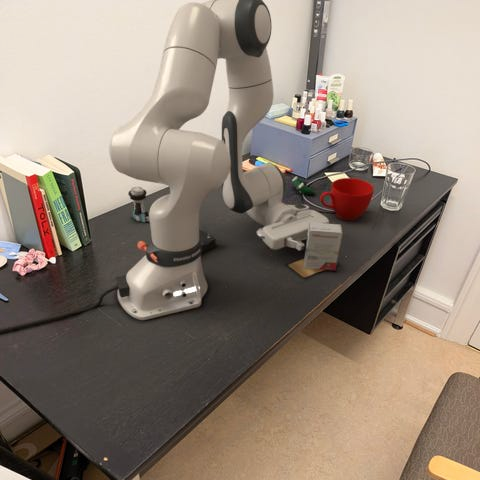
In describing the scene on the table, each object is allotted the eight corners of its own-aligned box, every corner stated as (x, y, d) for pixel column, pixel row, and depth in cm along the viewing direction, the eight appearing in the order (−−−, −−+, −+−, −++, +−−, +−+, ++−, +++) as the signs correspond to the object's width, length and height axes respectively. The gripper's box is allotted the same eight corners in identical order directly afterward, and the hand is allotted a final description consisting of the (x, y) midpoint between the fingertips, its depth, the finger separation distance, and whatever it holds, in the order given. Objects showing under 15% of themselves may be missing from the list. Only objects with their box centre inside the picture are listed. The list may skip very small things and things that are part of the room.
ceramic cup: (309, 209, 147) (313, 180, 141) (355, 204, 151) (362, 176, 145) (325, 228, 138) (330, 198, 132) (374, 222, 142) (381, 193, 135)
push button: (156, 219, 139) (153, 189, 133) (144, 226, 136) (141, 196, 129) (140, 213, 142) (136, 184, 135) (128, 220, 138) (124, 190, 132)
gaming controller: (298, 190, 163) (288, 180, 159) (305, 182, 161) (296, 172, 158) (308, 201, 156) (298, 191, 152) (316, 193, 155) (306, 183, 151)
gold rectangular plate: (304, 278, 118) (304, 277, 118) (287, 265, 122) (288, 264, 122) (337, 264, 123) (337, 263, 123) (320, 253, 127) (320, 252, 127)
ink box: (334, 261, 124) (342, 223, 116) (335, 271, 120) (343, 233, 112) (303, 258, 124) (309, 221, 117) (303, 268, 121) (309, 230, 113)
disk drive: (216, 246, 129) (182, 227, 136) (216, 237, 127) (182, 219, 134) (190, 260, 123) (156, 239, 130) (190, 251, 121) (155, 231, 128)
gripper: (253, 220, 120) (285, 243, 112) (310, 202, 129) (343, 222, 121) (252, 240, 125) (283, 264, 116) (307, 222, 134) (339, 242, 125)
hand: (314, 243), depth 119 cm, fingers open, 7 cm apart
